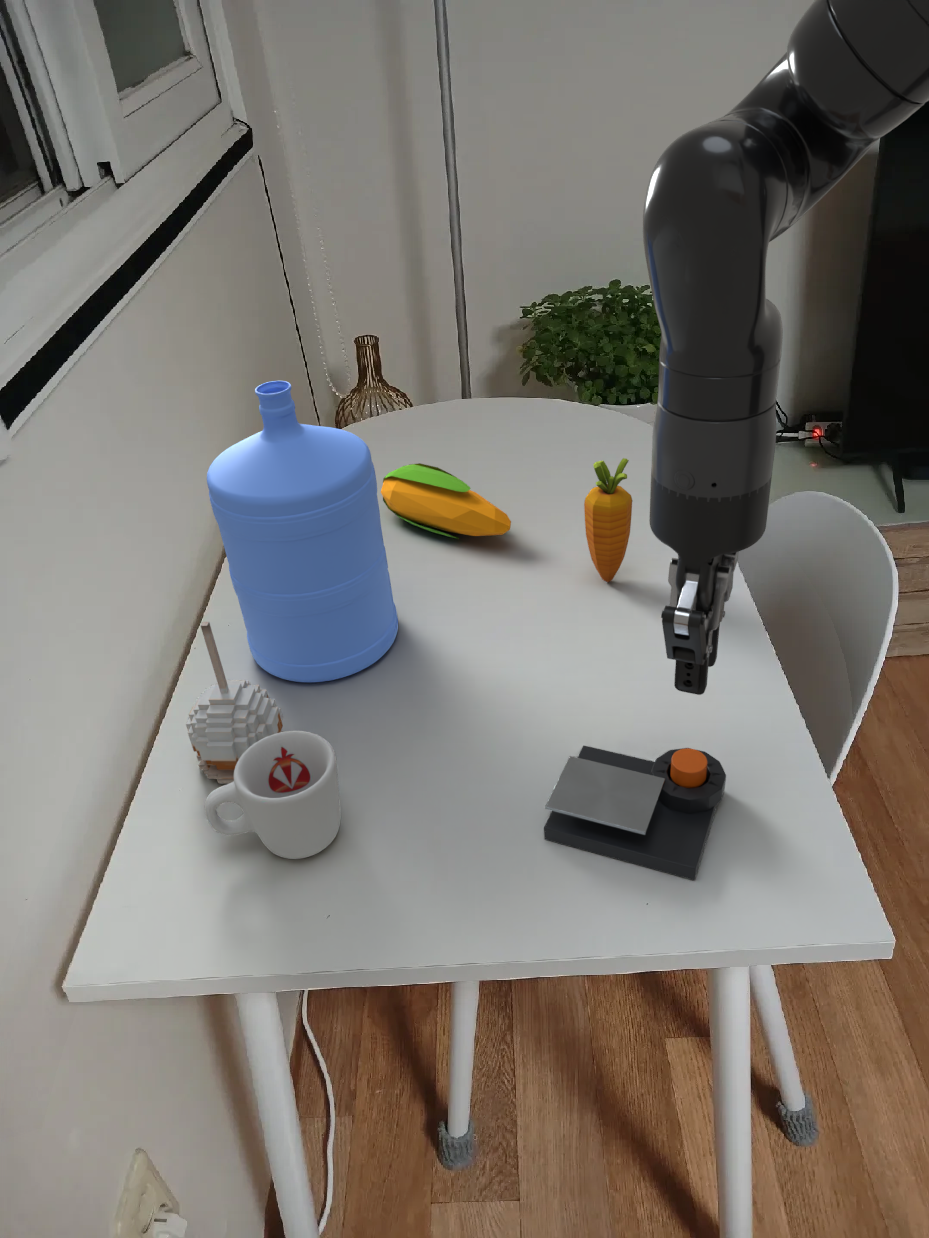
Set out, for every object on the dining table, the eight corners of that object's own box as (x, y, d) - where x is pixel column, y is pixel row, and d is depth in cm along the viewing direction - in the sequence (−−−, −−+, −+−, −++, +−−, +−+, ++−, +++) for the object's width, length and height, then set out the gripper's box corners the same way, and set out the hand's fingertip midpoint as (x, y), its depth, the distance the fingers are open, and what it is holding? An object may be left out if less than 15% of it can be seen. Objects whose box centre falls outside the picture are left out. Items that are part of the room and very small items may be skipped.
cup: (223, 893, 74) (197, 822, 70) (217, 820, 81) (194, 751, 76) (358, 857, 76) (342, 786, 71) (342, 788, 82) (327, 719, 78)
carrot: (627, 568, 107) (630, 446, 98) (632, 593, 103) (636, 468, 94) (583, 570, 107) (582, 449, 99) (586, 595, 103) (585, 471, 94)
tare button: (709, 768, 77) (710, 752, 76) (701, 792, 75) (703, 776, 74) (675, 760, 78) (676, 744, 77) (666, 783, 76) (667, 767, 75)
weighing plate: (665, 780, 76) (665, 778, 76) (645, 835, 72) (645, 832, 71) (569, 758, 79) (569, 755, 79) (545, 808, 75) (544, 806, 74)
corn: (401, 442, 121) (529, 480, 110) (411, 494, 125) (534, 535, 114) (361, 469, 117) (489, 511, 106) (373, 522, 121) (496, 566, 110)
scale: (728, 783, 79) (731, 757, 77) (699, 882, 71) (702, 855, 70) (586, 750, 84) (586, 724, 82) (544, 839, 76) (542, 813, 74)
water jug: (368, 695, 92) (319, 428, 76) (225, 677, 97) (149, 420, 80) (419, 604, 104) (385, 357, 88) (289, 592, 109) (234, 353, 92)
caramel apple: (295, 728, 89) (262, 596, 81) (274, 788, 83) (237, 652, 75) (216, 728, 90) (175, 597, 82) (189, 787, 84) (142, 653, 75)
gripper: (751, 526, 54) (727, 749, 64) (789, 425, 64) (764, 631, 74) (622, 509, 57) (619, 725, 67) (678, 415, 67) (668, 614, 77)
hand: (695, 674), depth 71 cm, fingers open, 3 cm apart
